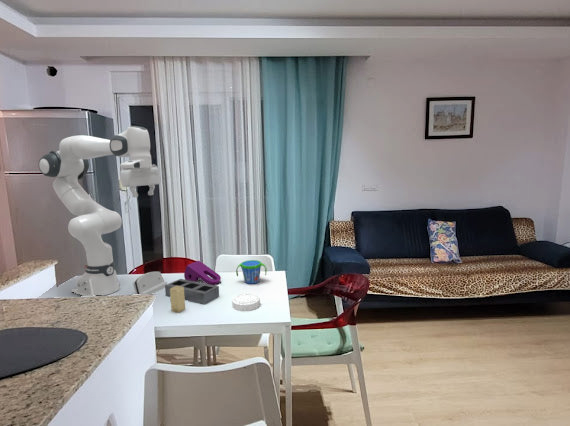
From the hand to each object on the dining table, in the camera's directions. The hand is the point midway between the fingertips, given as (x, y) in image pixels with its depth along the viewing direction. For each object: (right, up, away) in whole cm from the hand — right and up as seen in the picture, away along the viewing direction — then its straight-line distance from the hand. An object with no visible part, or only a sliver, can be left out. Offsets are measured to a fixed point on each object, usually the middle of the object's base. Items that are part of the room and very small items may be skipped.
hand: (143, 196), depth 152 cm
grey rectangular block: (+19, -46, +11) cm, 51 cm away
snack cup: (+45, -43, +28) cm, 68 cm away
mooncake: (+45, -48, -1) cm, 66 cm away
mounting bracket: (+20, -44, +29) cm, 56 cm away
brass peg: (+17, -49, -5) cm, 52 cm away
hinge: (-4, -46, +19) cm, 50 cm away
